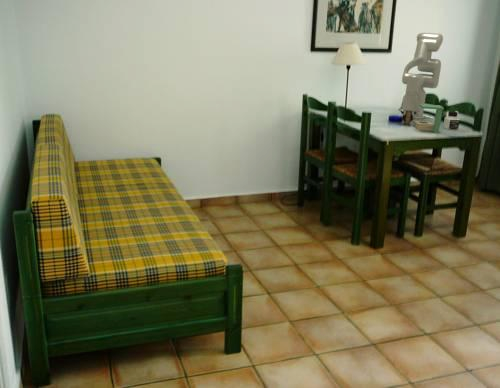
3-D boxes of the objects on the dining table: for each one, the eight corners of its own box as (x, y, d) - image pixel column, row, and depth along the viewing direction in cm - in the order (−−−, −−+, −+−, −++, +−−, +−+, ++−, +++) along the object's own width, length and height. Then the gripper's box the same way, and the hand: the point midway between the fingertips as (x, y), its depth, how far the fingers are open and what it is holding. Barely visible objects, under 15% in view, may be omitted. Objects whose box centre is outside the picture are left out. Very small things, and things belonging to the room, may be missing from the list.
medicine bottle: (448, 130, 347) (451, 111, 343) (442, 127, 353) (445, 110, 350) (458, 130, 348) (461, 112, 344) (452, 127, 355) (455, 110, 351)
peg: (403, 124, 359) (405, 109, 355) (408, 124, 358) (411, 109, 355) (404, 125, 355) (406, 110, 352) (410, 125, 355) (412, 110, 351)
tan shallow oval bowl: (413, 125, 354) (414, 120, 353) (428, 126, 354) (429, 121, 353) (418, 130, 341) (419, 124, 340) (433, 130, 341) (434, 125, 340)
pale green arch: (415, 128, 345) (419, 104, 339) (435, 130, 344) (439, 105, 339) (419, 131, 336) (423, 106, 330) (439, 133, 335) (443, 107, 330)
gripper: (422, 93, 353) (418, 120, 359) (397, 92, 354) (393, 119, 360) (425, 95, 346) (421, 122, 352) (399, 93, 347) (395, 121, 352)
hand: (407, 120), depth 356 cm, fingers closed on peg, 4 cm apart
